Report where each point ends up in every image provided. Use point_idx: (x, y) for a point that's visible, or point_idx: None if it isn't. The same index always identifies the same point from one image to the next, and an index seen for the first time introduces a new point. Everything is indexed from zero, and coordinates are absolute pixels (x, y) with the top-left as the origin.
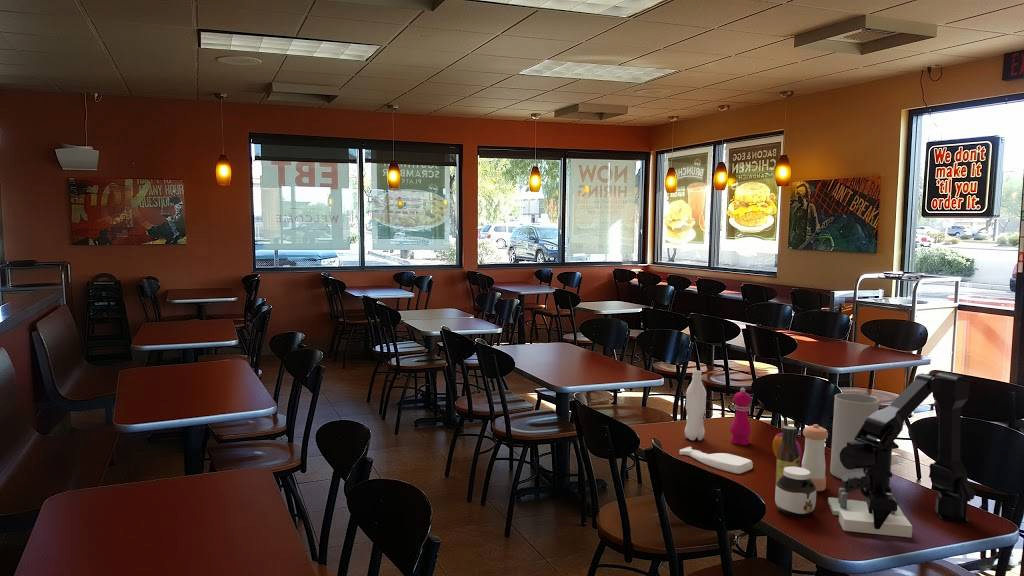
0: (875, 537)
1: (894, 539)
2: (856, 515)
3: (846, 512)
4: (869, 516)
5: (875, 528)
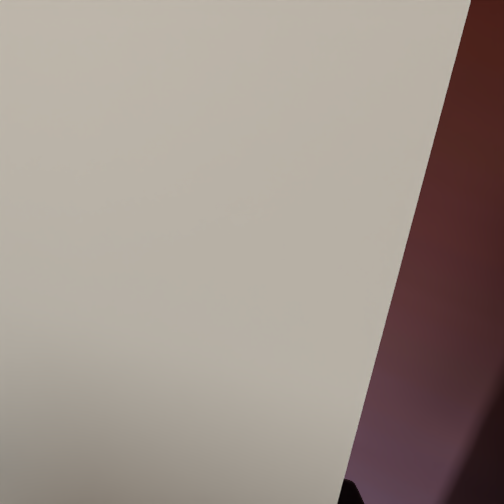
0: None
1: None
2: (189, 284)
3: (333, 136)
4: (186, 472)
5: None
